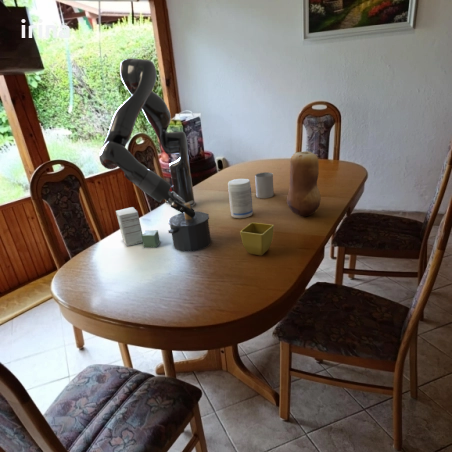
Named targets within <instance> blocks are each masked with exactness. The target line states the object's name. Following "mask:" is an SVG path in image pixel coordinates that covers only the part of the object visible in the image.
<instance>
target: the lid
mask: <svg viewBox="0 0 452 452" xmlns="http://www.w3.org/2000/svg"><path fill="white" fill-rule="evenodd" d="M184 204H185V205H186V206H187V207H188V208H190V209H191V208H192V207H190V203H184ZM208 214H209V213H208V212H204V211H196V210H195V216H194V217H193V218H191V217H190V216H188V215H187V214H186V213H181V212H179V213H178V214H175V215H172V216H170V218H169V219H168V221H167V222H168V225H169V226H170V225H171V226H173V227H179V228H185V227H193V226H197V225H200V224H203V223H205V222H206V221H208V222H209V219H210V215H208Z"/></svg>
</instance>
